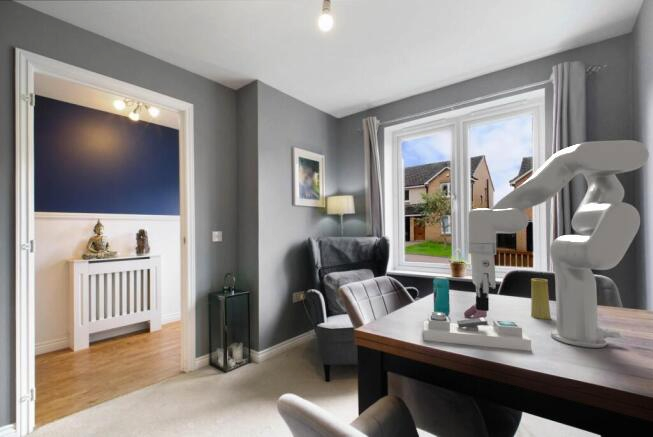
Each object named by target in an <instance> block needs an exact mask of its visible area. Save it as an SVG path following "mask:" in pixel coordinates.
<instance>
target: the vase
mask: <svg viewBox="0 0 653 437" xmlns="http://www.w3.org/2000/svg"><path fill="white" fill-rule="evenodd" d="M530 285H531V286H530V287H531V288H530V289H531V290H530V291H531V296H530V297H531V304H530V305H531V310H530V311H531V312H530V313H531V314H530V316H531V317H533V318H535V319H540V320H541V319H542V320H549V319H551V318H552V317H551V309H550V306H551V305H550V296H549V280H548V279H545V278H535V277H534V278H531V279H530Z"/></svg>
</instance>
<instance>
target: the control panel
mask: <svg viewBox="0 0 653 437" xmlns="http://www.w3.org/2000/svg"><path fill="white" fill-rule="evenodd" d="M427 319H428V320H423V340H424V341H428V342H436V343H437V342H439V343H447V344H458V345H459V344H460V345H467V346H468V345H469V346H478V347H479V346H480V347H489V348H497V349H510V350H517V351H518V350H519V351H528V352H532V339H531V338H530V337H529V336H528V335H527V334H526V333H525V332H523V328H522V326H521V325H519V324H518V323H517V321H512V320H511V321H510V320H501V319H500V320H498V319H492V321H493V322H492V323H493V326H492V325H479V326H470V327H461V328H459V326H458V324H457V323H455V322H451V321H450V319H449V316H448V317H446V316H445V321H438V320H432V314H428V317H427ZM499 322H511V323H514V324H515V327H514V326H501V325H499Z"/></svg>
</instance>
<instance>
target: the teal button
mask: <svg viewBox="0 0 653 437" xmlns="http://www.w3.org/2000/svg"><path fill="white" fill-rule="evenodd" d="M499 325H501V326H514V327H515V324H514V323H511V322H499Z"/></svg>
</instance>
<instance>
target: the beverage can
mask: <svg viewBox="0 0 653 437" xmlns="http://www.w3.org/2000/svg"><path fill="white" fill-rule="evenodd" d="M432 283H433V312H442V313H445V316H446V317H448V318H449V317H450V316H449V315H450V312H451V310H450V309H451V307H450V305H451V304H450V281H449V277H447V276H442V275H439V276H438V275H436V276H433V280H432Z"/></svg>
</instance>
